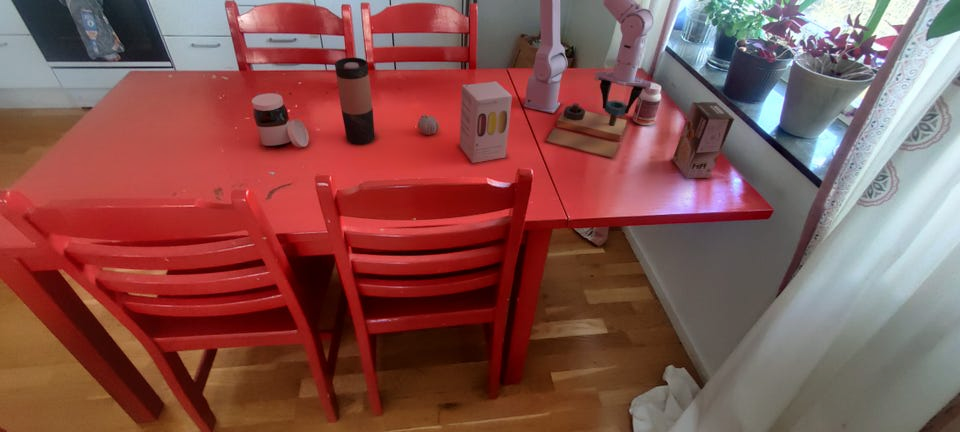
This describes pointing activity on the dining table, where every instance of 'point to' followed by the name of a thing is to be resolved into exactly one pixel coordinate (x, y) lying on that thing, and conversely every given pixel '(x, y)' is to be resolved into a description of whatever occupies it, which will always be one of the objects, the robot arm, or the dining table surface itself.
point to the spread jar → (277, 123)
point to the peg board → (594, 124)
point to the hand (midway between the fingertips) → (615, 109)
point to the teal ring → (615, 108)
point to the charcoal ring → (572, 115)
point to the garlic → (428, 125)
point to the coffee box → (702, 139)
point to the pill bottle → (647, 105)
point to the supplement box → (484, 121)
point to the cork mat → (582, 143)
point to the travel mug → (355, 99)
